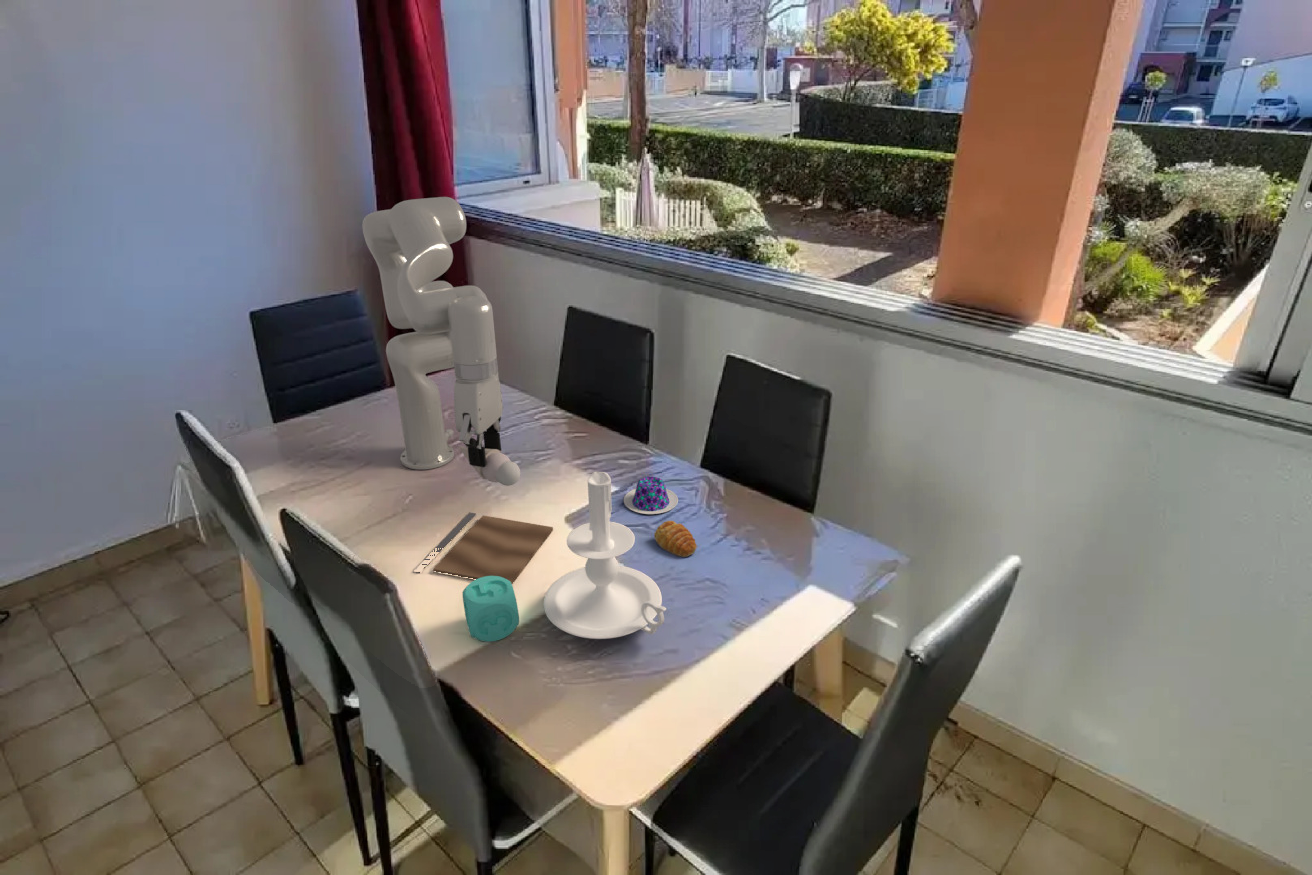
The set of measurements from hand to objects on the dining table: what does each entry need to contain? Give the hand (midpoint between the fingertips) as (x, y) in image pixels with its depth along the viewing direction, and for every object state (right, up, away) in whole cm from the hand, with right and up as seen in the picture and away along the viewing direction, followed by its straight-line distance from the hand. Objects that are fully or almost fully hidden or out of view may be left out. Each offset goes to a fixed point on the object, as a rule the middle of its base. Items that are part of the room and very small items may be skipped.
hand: (485, 457), depth 147 cm
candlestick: (+24, -28, -9) cm, 38 cm away
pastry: (+36, -18, +12) cm, 42 cm away
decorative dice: (+4, -29, -11) cm, 31 cm away
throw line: (-10, -17, +12) cm, 24 cm away
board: (0, -19, +9) cm, 21 cm away
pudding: (+31, -11, +26) cm, 42 cm away
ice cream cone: (0, -4, +2) cm, 5 cm away
